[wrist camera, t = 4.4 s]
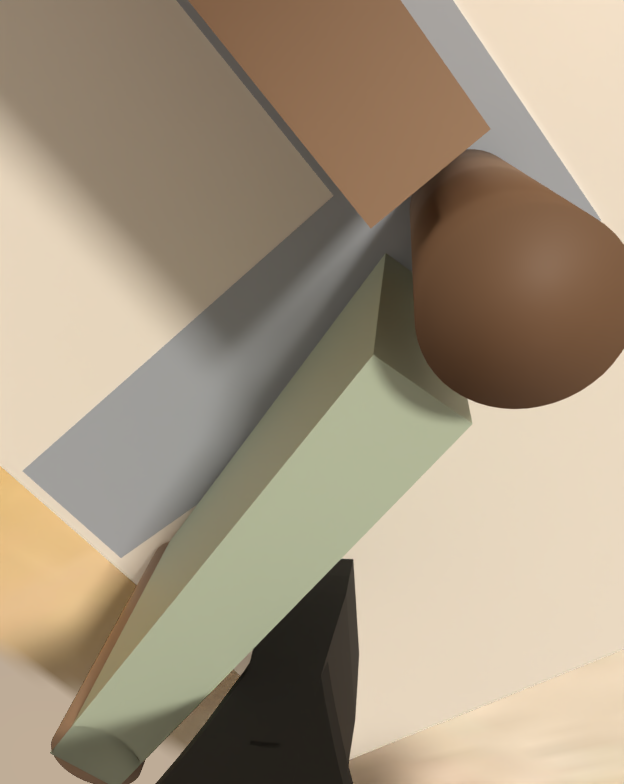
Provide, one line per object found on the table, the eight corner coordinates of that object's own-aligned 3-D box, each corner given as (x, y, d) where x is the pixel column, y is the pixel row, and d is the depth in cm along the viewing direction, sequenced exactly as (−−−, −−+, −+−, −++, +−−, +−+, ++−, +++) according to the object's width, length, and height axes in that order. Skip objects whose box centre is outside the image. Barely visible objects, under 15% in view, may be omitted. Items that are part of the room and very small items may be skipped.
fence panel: (379, 248, 8) (363, 347, 5) (452, 301, 8) (481, 430, 5) (142, 569, 11) (37, 756, 8) (197, 601, 11) (117, 798, 8)
